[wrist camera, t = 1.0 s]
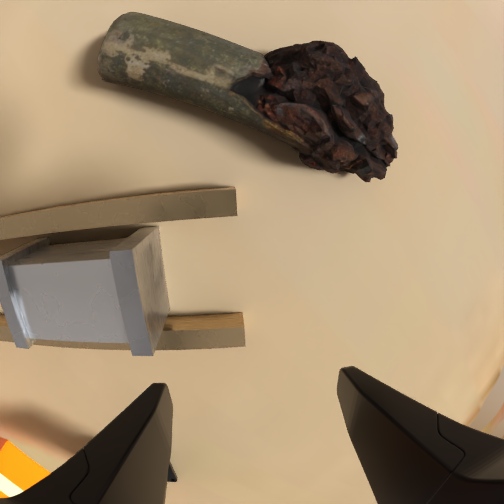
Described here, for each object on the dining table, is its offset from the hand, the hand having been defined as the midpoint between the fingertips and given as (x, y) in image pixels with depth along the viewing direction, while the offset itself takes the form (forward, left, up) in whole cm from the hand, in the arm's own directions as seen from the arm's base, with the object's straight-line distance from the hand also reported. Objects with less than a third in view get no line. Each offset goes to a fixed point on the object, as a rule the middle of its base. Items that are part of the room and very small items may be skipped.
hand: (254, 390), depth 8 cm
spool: (0, +10, -12) cm, 16 cm away
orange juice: (-30, +35, -12) cm, 48 cm away
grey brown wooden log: (+11, -2, -12) cm, 17 cm away
